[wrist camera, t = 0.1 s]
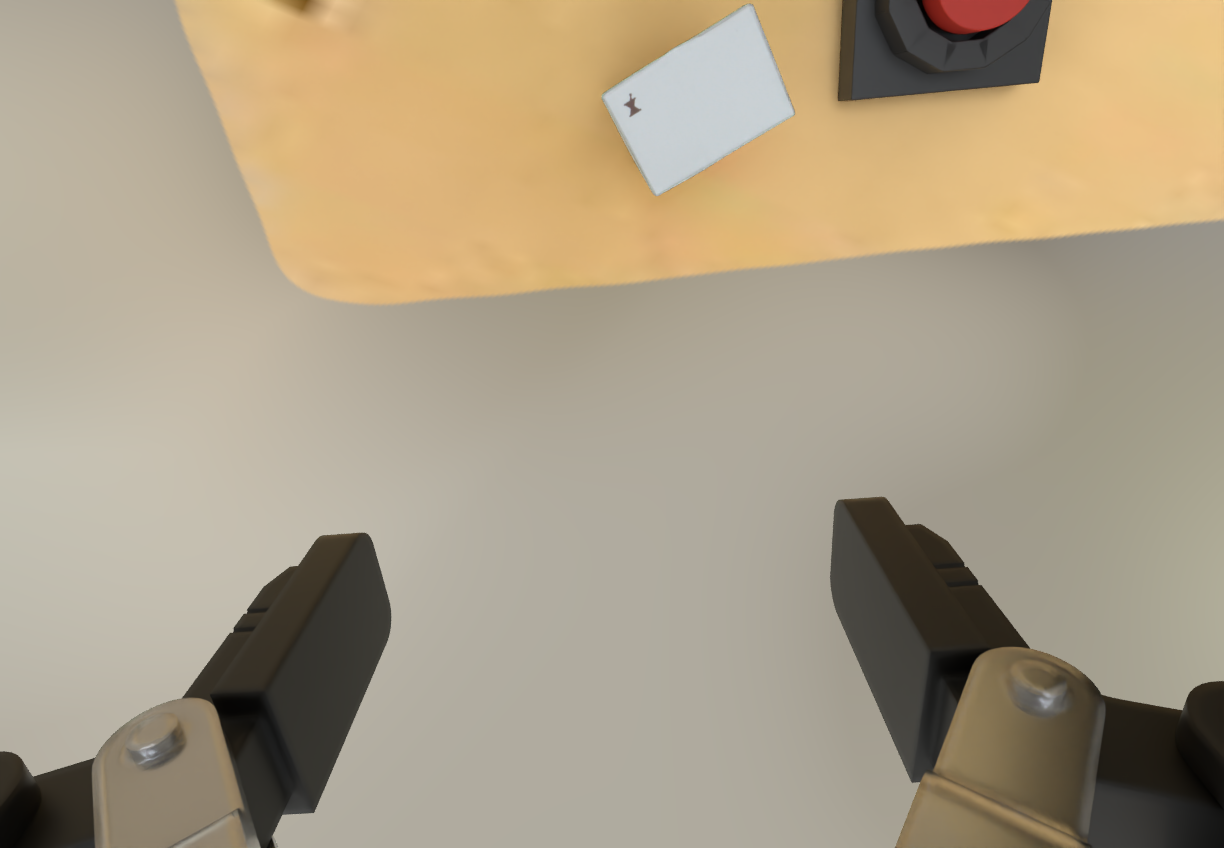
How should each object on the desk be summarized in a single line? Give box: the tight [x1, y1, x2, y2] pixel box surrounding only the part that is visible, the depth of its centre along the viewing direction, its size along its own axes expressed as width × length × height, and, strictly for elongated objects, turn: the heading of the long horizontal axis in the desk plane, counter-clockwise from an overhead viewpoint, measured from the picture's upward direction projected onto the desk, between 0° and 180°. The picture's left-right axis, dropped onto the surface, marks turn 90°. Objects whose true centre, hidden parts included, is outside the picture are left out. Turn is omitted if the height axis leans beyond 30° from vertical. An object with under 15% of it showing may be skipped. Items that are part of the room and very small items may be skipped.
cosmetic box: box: [602, 4, 795, 196], centre depth 30 cm, size 6×4×12 cm
